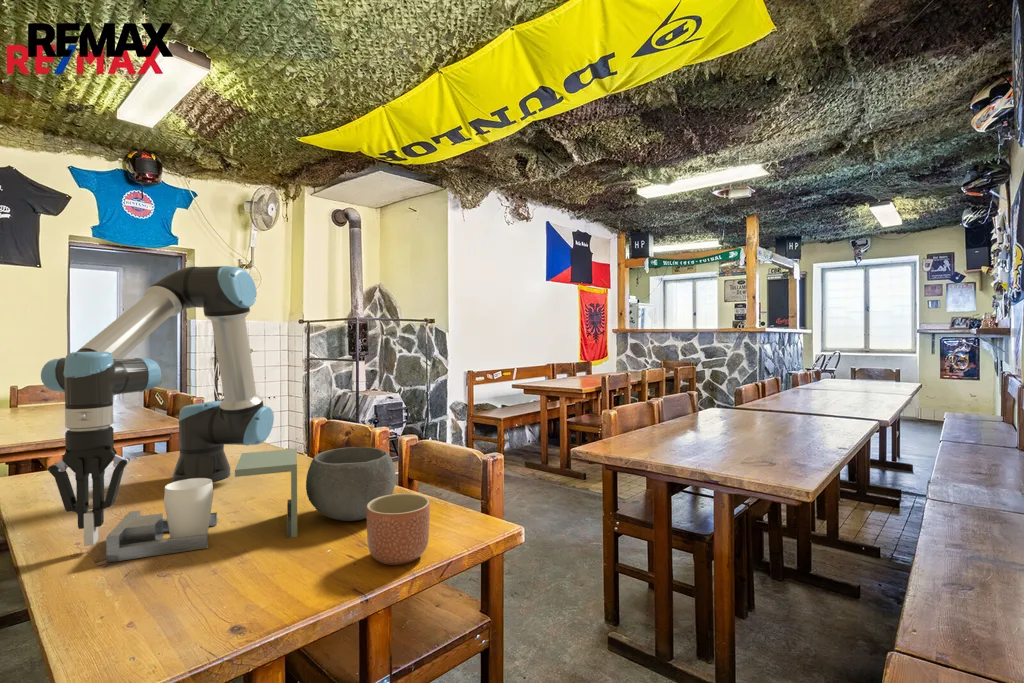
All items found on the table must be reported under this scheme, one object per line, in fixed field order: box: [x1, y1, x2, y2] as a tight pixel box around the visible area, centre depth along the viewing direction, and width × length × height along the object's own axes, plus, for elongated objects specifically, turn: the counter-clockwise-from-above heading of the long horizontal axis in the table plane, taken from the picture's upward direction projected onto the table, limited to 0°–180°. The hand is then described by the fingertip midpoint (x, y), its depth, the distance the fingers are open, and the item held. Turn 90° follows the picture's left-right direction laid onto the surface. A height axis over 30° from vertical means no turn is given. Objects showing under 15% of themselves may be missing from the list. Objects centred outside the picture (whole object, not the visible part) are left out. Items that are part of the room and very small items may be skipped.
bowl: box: [305, 446, 397, 522], centre depth 124 cm, size 21×21×15 cm
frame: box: [105, 510, 218, 563], centre depth 108 cm, size 15×17×5 cm
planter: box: [365, 493, 431, 566], centre depth 100 cm, size 12×12×11 cm
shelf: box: [234, 448, 298, 539], centre depth 115 cm, size 16×12×16 cm
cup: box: [163, 478, 214, 539], centre depth 109 cm, size 9×9×12 cm
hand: (91, 542), depth 102 cm, fingers closed
